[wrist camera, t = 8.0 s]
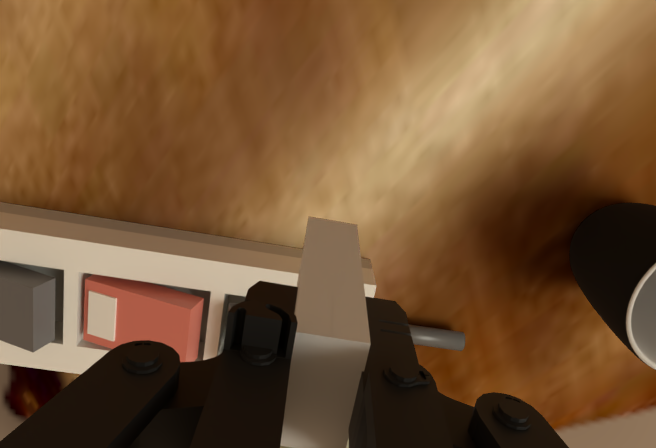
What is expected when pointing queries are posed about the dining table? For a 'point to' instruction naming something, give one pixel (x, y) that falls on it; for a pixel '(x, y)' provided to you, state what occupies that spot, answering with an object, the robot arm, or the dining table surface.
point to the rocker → (26, 307)
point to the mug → (620, 272)
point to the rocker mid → (141, 315)
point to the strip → (147, 276)
